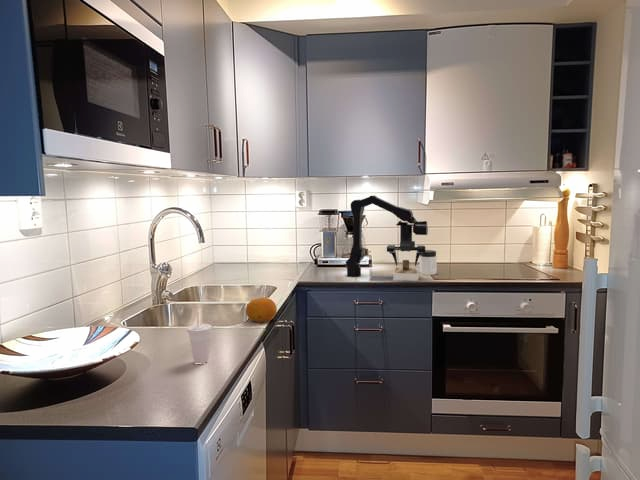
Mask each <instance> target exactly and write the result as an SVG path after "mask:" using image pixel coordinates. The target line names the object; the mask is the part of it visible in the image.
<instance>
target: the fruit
mask: <svg viewBox="0 0 640 480" xmlns="http://www.w3.org/2000/svg"><path fill="white" fill-rule="evenodd" d="M277 311H278V308H277V305H276V302H275V301H273V300H272V299H270V298H268V297H260V298H253V299H252V300H250V301H249V302H248V304H247V305H246V308H245V314H246V316H247V318H248V319H249V320H251V321H253V322H255V321H257V322H256V323H266V321H267V322H269V321H271V320H273V318H275V316H276V314H277Z"/></svg>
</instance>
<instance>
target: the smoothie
mask: <svg viewBox="0 0 640 480" xmlns="http://www.w3.org/2000/svg"><path fill="white" fill-rule="evenodd" d="M212 327H213V326H212V325H211V324H208V323H200V315H199V311H196V323H195V324H192V325H190V326H188V327H187V331H186V332H187V334H188V338H189V342H190V347H191V353H192V359H193V364H194V363H205V362H207V361H208V362H209V356H210V355H209V354H210V342H211V334H212V333H211V331H212V330H213V328H212ZM208 362H207V363H208Z"/></svg>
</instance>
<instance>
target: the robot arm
mask: <svg viewBox="0 0 640 480" xmlns="http://www.w3.org/2000/svg"><path fill="white" fill-rule="evenodd" d="M370 205H374V206H377V207H379V208H381V209H383V210H385V211H387V212H390V213H392V214H393V215H394V216H395V217H396V218H397V219H400V220H399V221H398V222H397V223H396V224H395V225H396V226H397V227H399V226H400V228H399V229H400V234H399V236H400V237H399V241H400V242H399V246H396V245H395V244H388V245H387V246H386V252H388V254H391V255H392V258H393V260H394V263H395V266H396V267H397V266H398V258H397V251H400V252H412V251H414V252H415V251H416V252H415V253H416V254H415V262H414V266H415V267H416V266H417V263H418V261H419V259H420V254H423V252H425V250H426V246H425V245H420V244H418V245H417V246H415V245H416V241H415V240H413V233H414V235H416V236H428V233H429V227H428V221H427V220H424V221H422V220H421V221H417V219H416V218H415V216H414V212H413V210H411V209H410V208H407V207H406V208H405V207H401V206H397V205H395V204H392V203H390V202H389V201H387V200H384V199H382V198H379V197H378V196H377V195H370V196H368V197H365V198H362V199H355V200H352V201H351V203H350V212H351V214H352V218H353V219H352V220H353V221H352V222H353V223H352V226H353V227H352V247H351V249H350V255H349V258H348V259H346V260H345V265H346V269H347V270H346V278H348V277H349V278H359V277H361V276H362V267H361V265H360V263H361V262H362V261H363V260H364V258H365V257H366V254H365V253H366V252H365V251H366V248H365V247H363V246H362V229H363V227H362V225H363V222H362V220H363V215H364V212H365V211H364V210H365V207H368V206H370Z"/></svg>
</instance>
